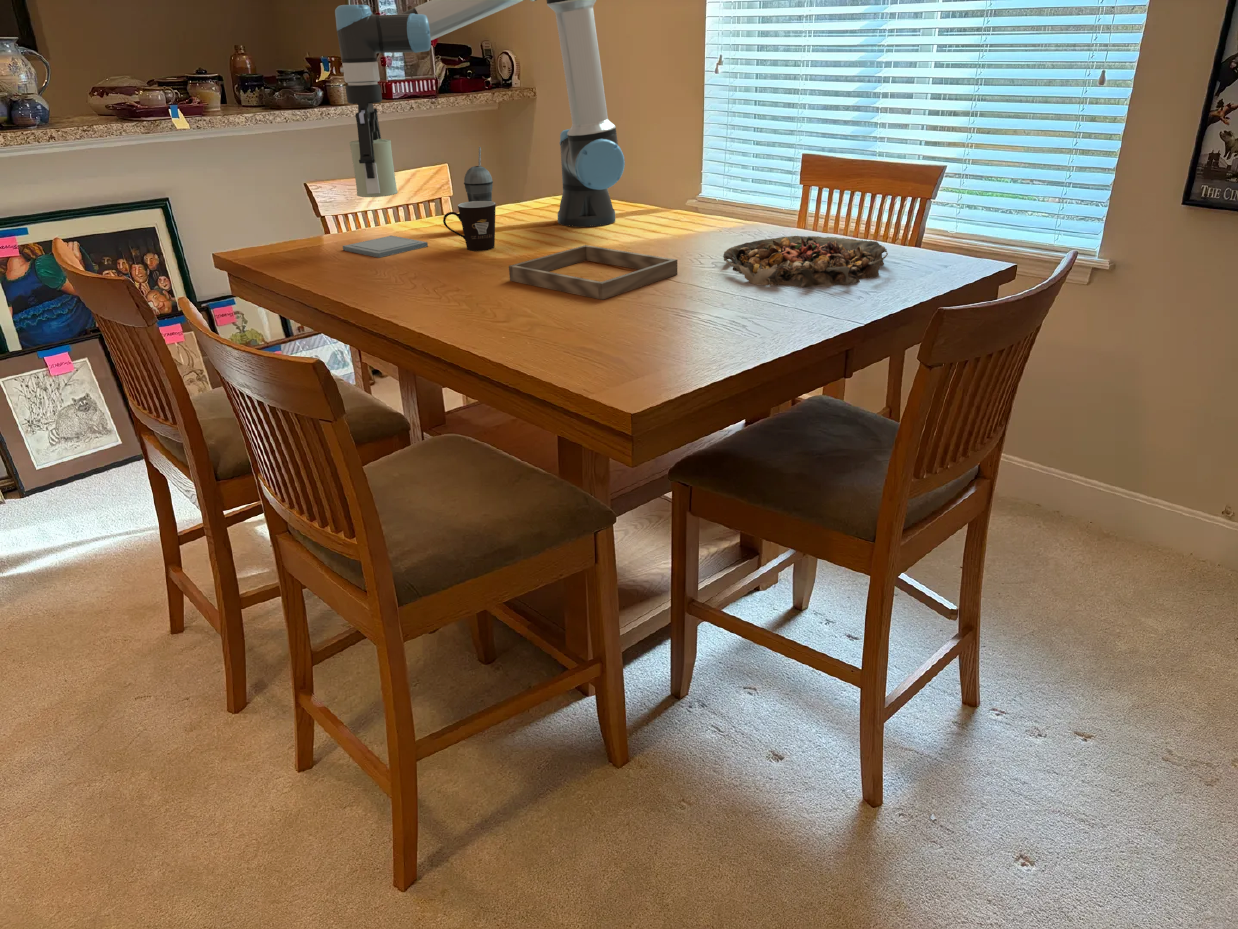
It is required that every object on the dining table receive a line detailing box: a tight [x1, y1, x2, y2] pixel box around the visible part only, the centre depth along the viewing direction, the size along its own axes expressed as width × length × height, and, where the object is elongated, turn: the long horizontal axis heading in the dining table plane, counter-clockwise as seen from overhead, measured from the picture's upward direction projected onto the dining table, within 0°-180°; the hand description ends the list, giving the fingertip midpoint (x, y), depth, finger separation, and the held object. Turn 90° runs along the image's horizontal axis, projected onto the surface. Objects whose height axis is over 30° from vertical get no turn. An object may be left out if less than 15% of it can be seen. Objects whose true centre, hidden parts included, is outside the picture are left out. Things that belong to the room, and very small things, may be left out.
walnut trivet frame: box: [508, 244, 678, 300], centre depth 182 cm, size 25×23×3 cm
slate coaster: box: [342, 235, 428, 259], centre depth 213 cm, size 14×14×1 cm
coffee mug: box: [442, 201, 496, 252], centre depth 208 cm, size 12×9×10 cm
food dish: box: [722, 235, 889, 289], centre depth 184 cm, size 35×33×8 cm
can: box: [349, 138, 399, 198], centre depth 205 cm, size 9×9×12 cm
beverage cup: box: [463, 146, 494, 202], centre depth 226 cm, size 7×7×20 cm
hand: (377, 189), depth 207 cm, fingers closed on can, 9 cm apart
